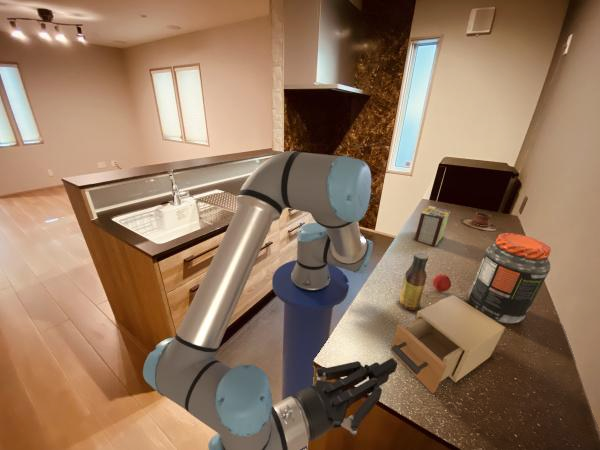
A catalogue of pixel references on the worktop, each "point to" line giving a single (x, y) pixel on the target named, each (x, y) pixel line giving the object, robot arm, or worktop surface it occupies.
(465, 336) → the cabinet
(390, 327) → the worktop surface
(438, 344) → the drawer
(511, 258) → the supplement tub
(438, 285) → the onion
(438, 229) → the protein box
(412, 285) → the sauce bottle
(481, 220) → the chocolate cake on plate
